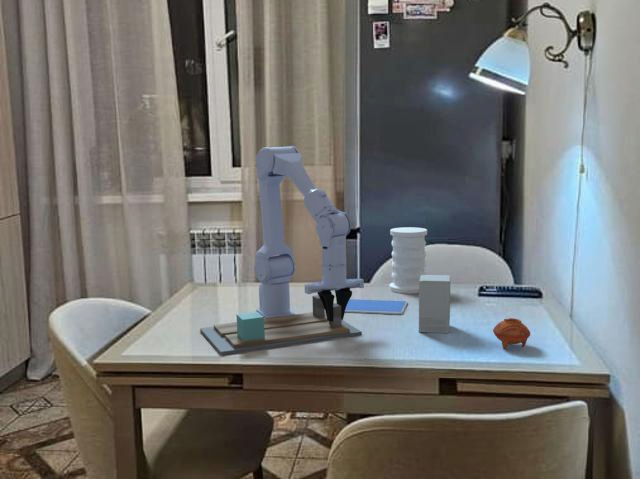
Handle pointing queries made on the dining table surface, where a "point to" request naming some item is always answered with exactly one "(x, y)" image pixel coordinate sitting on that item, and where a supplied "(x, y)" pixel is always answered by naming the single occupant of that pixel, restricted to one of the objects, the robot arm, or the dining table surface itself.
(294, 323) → the strip
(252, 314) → the teal block
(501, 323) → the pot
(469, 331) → the dining table surface
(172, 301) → the dining table surface
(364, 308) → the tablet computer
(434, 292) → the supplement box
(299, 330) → the strip
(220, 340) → the lane board
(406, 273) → the decorative container
